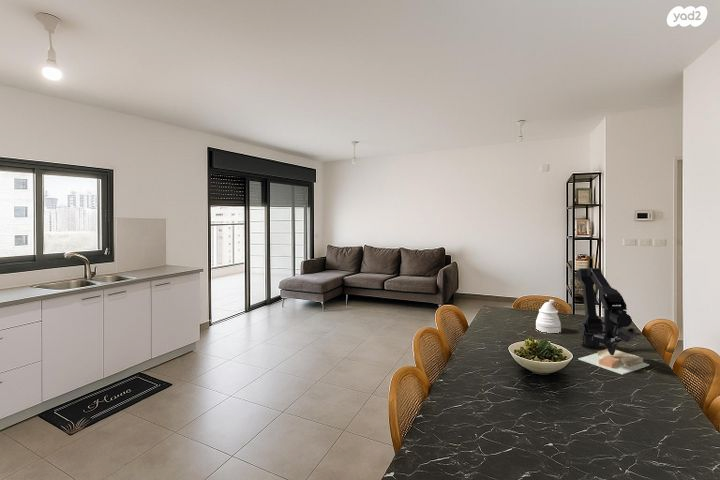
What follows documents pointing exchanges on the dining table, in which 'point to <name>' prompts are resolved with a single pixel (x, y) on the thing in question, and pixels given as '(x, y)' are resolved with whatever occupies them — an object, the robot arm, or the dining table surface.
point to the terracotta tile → (609, 361)
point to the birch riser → (622, 357)
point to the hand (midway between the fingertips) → (611, 354)
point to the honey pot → (548, 319)
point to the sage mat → (618, 369)
